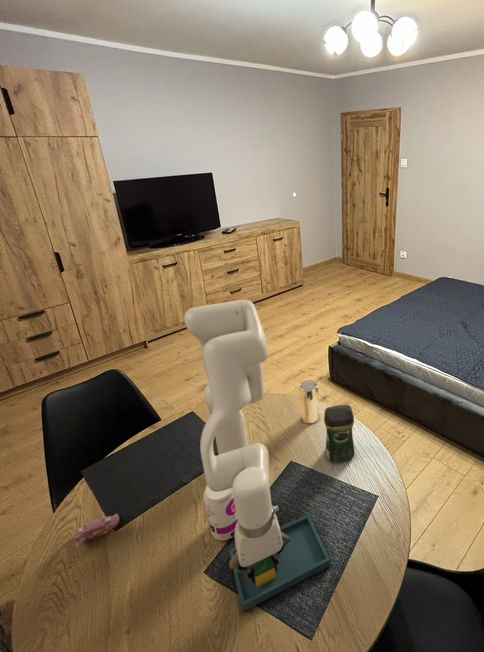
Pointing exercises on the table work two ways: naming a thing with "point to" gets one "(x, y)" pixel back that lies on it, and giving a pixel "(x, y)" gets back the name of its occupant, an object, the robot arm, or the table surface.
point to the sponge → (264, 571)
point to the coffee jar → (339, 433)
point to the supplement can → (221, 513)
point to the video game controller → (96, 528)
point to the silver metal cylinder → (309, 400)
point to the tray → (286, 564)
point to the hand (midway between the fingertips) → (263, 570)
